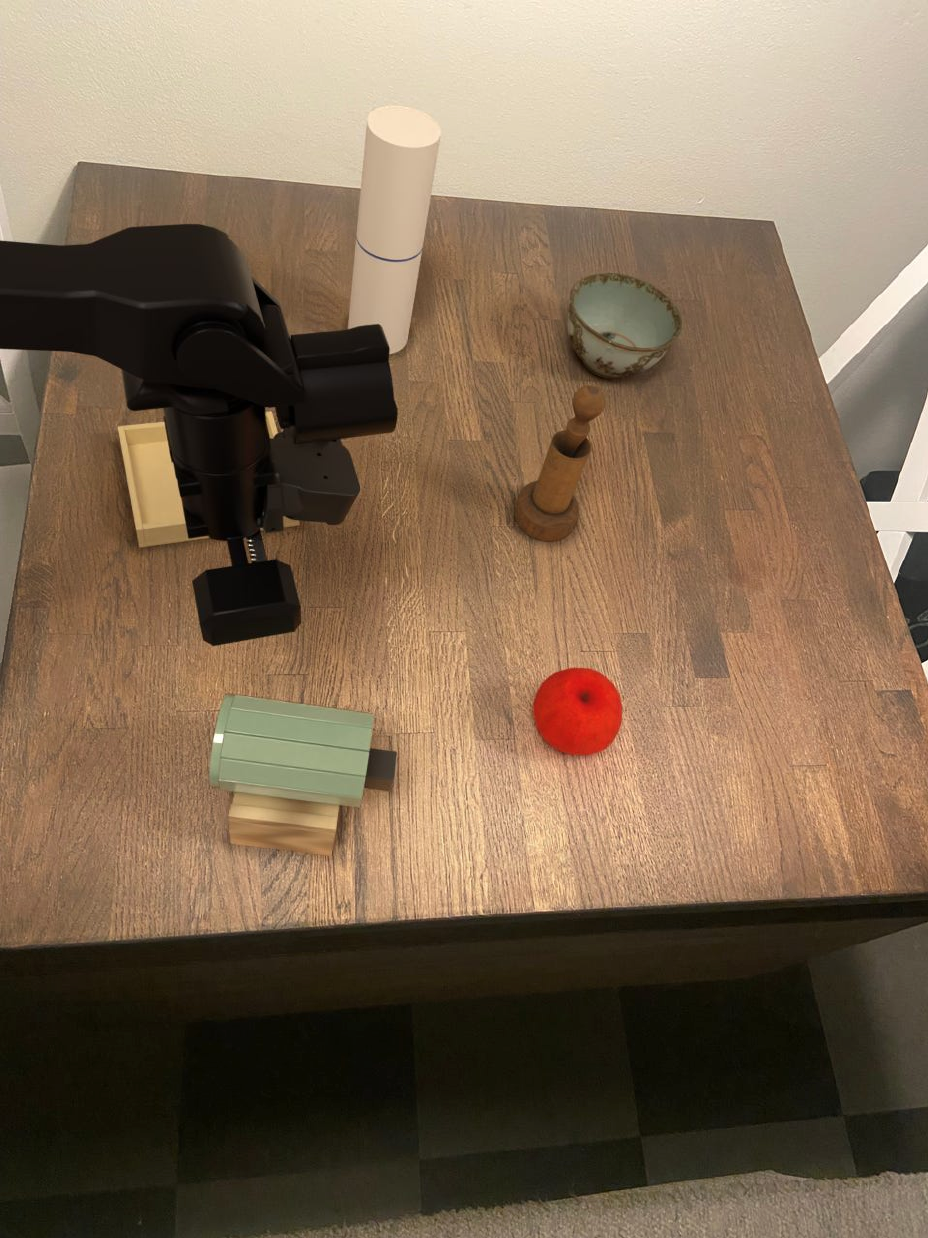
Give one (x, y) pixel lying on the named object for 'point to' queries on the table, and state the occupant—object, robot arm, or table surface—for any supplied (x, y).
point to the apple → (578, 711)
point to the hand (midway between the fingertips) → (238, 585)
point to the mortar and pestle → (560, 474)
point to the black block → (380, 770)
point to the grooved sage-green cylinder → (290, 750)
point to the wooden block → (282, 823)
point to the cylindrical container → (392, 218)
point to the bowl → (620, 324)
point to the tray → (159, 484)
